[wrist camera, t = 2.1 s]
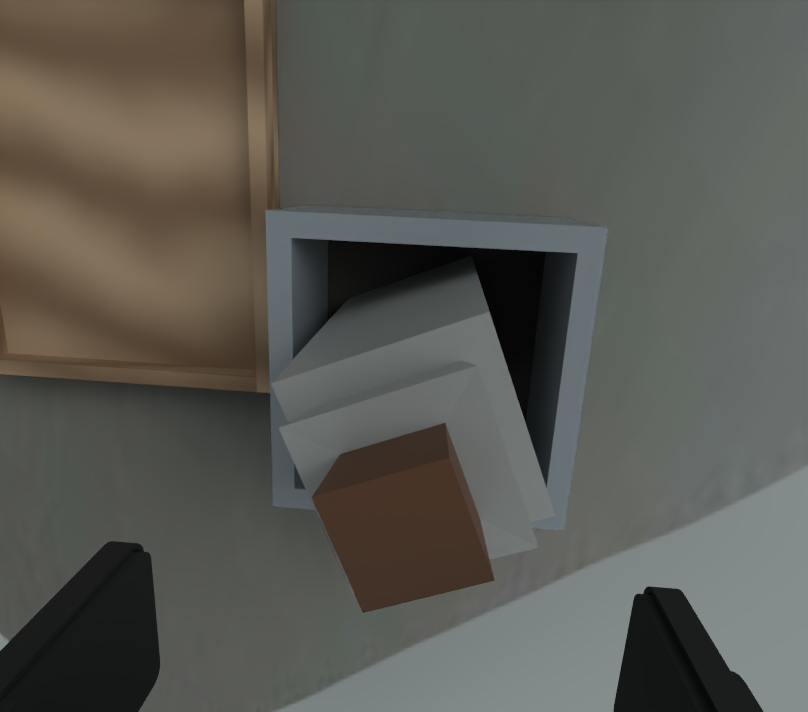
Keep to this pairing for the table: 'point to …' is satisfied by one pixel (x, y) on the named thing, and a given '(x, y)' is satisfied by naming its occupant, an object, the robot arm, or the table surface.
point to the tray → (137, 190)
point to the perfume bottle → (413, 439)
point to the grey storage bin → (560, 237)
